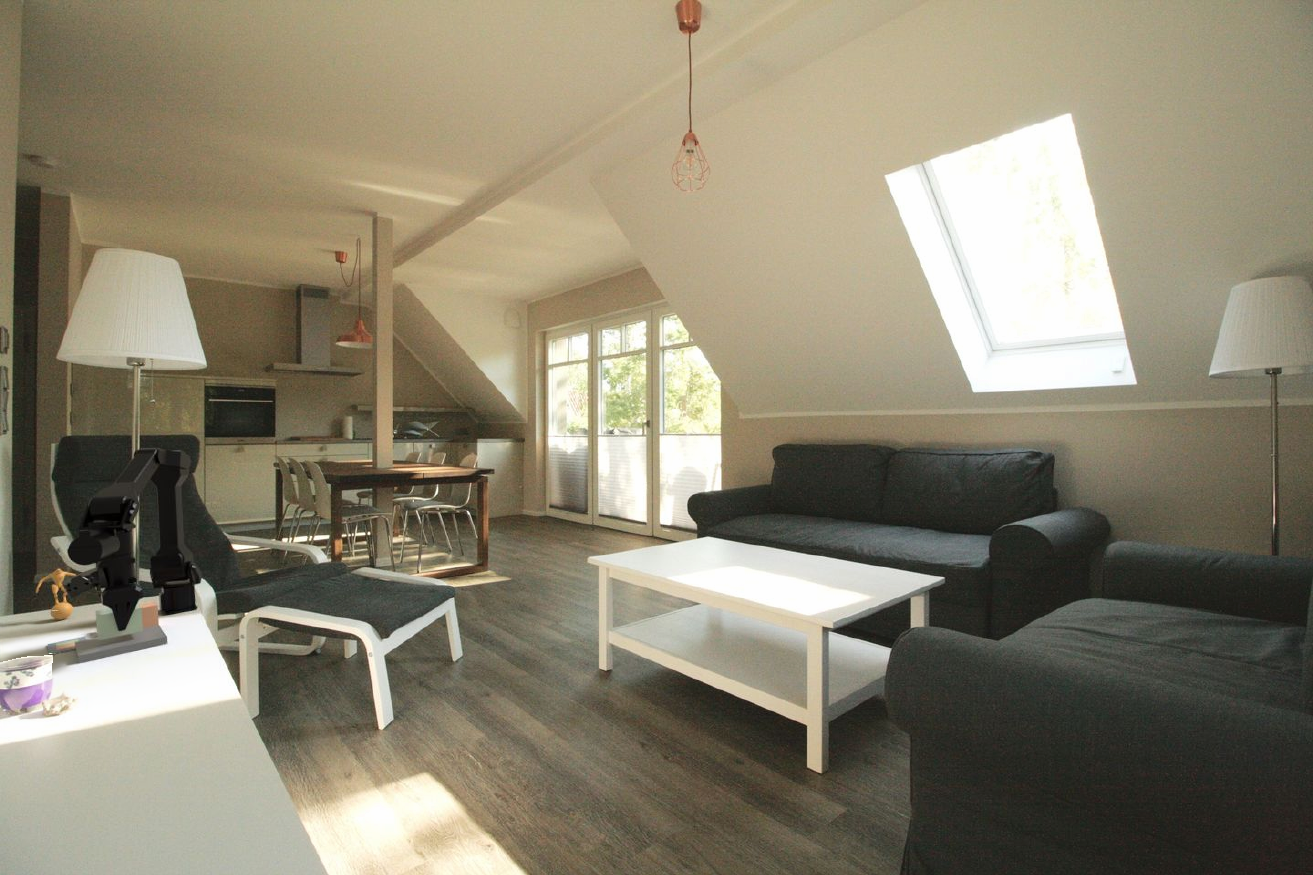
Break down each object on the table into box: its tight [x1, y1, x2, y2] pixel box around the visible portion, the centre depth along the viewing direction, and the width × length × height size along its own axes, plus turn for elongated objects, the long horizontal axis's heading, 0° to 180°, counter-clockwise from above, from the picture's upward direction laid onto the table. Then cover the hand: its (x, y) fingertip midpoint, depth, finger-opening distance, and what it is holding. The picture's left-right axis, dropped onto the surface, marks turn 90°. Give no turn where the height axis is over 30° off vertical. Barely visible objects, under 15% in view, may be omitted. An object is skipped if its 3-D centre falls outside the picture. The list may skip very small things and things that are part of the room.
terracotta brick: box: [139, 600, 160, 628], centre depth 146 cm, size 7×5×5 cm
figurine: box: [35, 568, 76, 621], centre depth 154 cm, size 8×6×12 cm
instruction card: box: [47, 636, 87, 654], centre depth 135 cm, size 6×8×1 cm
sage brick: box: [95, 602, 143, 640], centre depth 134 cm, size 7×5×5 cm
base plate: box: [74, 624, 168, 664], centre depth 134 cm, size 14×11×2 cm
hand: (120, 627), depth 134 cm, fingers closed on sage brick, 5 cm apart
